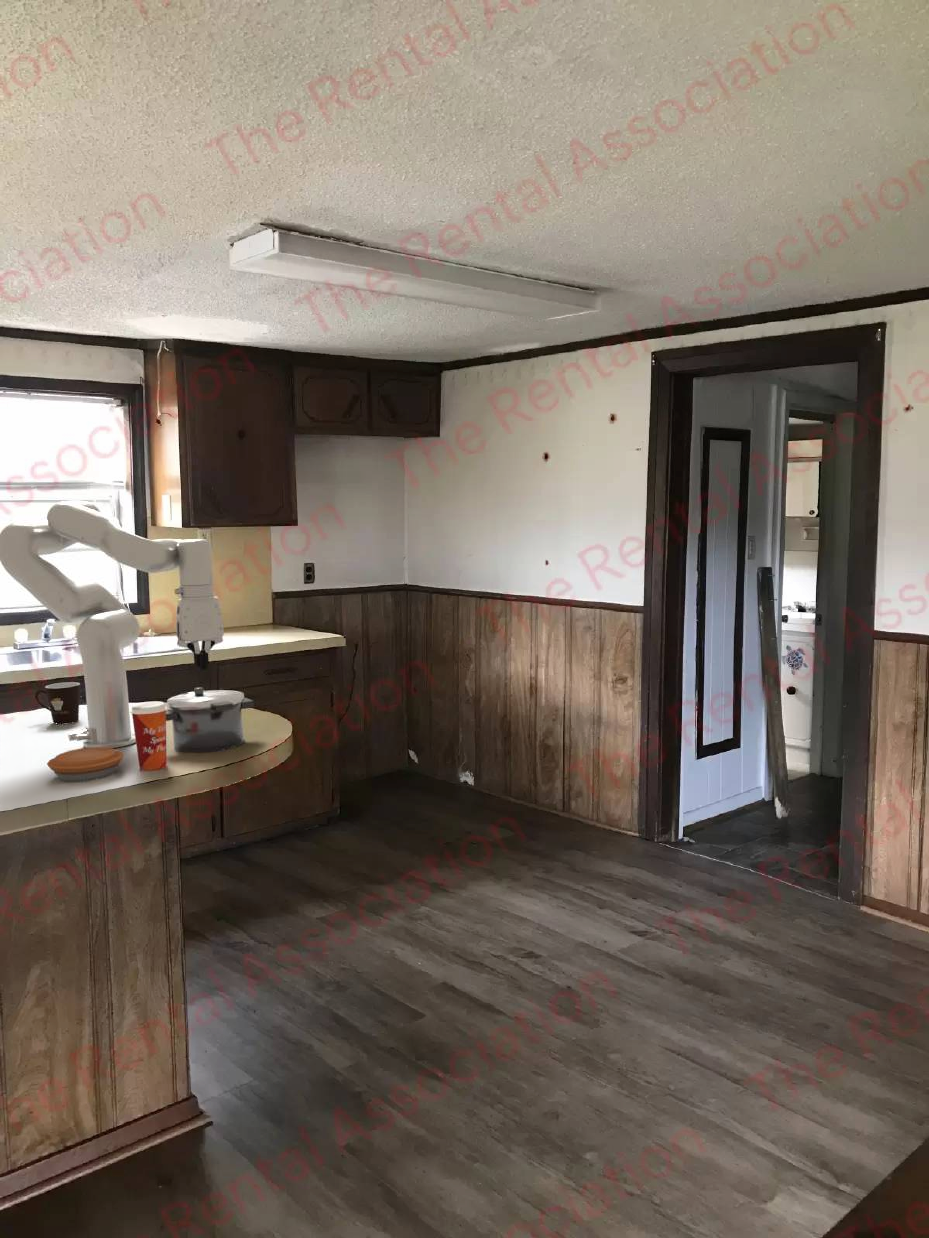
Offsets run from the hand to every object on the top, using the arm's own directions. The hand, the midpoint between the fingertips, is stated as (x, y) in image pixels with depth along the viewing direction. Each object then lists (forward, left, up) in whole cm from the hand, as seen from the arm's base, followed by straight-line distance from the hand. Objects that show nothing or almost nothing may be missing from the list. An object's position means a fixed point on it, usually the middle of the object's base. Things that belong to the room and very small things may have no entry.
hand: (201, 669), depth 239 cm
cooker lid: (0, -2, -8) cm, 8 cm away
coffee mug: (-21, +54, -18) cm, 61 cm away
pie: (-30, -9, -18) cm, 36 cm away
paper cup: (-17, -13, -18) cm, 28 cm away
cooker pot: (0, +1, -18) cm, 18 cm away
